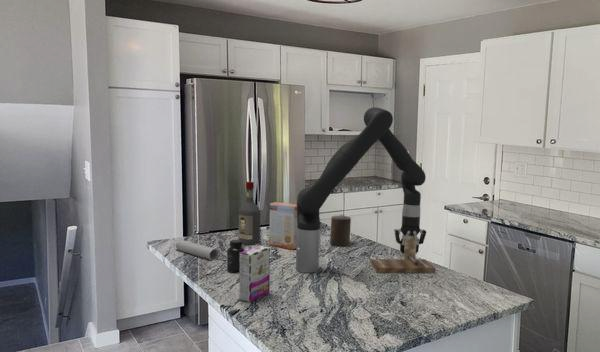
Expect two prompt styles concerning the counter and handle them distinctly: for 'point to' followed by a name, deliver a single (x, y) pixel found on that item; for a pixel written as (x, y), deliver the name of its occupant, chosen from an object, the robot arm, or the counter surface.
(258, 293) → the candy bar box
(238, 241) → the supplement bottle
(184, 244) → the tube
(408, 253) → the marking gauge
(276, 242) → the cracker box
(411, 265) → the walnut board
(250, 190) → the liquor
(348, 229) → the pillar candle
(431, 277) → the counter surface
